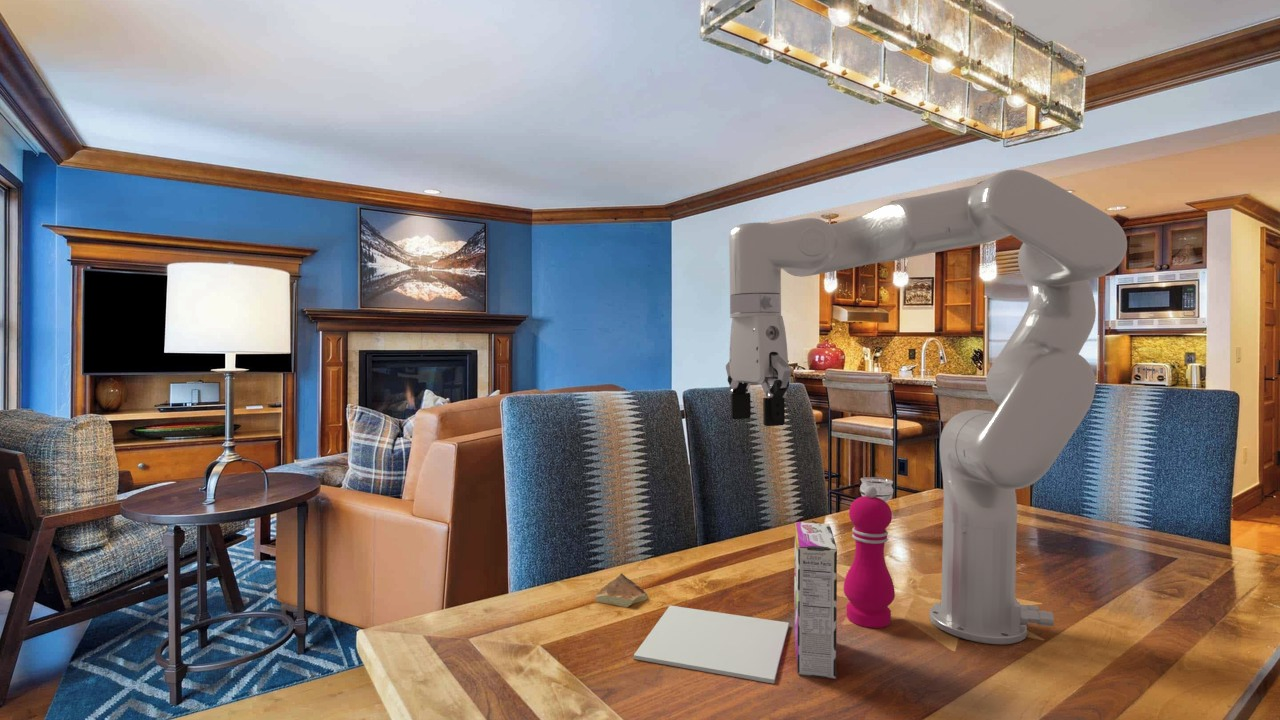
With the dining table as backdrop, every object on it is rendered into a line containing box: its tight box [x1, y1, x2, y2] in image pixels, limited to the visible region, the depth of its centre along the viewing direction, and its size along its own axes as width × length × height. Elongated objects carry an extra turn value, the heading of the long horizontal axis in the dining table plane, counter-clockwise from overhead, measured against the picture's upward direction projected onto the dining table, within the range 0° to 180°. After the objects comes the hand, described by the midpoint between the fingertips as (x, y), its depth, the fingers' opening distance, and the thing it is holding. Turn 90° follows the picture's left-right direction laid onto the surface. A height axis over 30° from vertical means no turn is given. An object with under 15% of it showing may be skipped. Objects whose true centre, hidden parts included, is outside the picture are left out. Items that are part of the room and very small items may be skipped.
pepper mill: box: [843, 486, 896, 629], centre depth 97 cm, size 7×7×20 cm
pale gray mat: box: [633, 605, 790, 684], centre depth 89 cm, size 18×17×1 cm
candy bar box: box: [793, 521, 838, 680], centre depth 85 cm, size 11×5×16 cm, turn 168°
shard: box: [594, 573, 649, 608], centre depth 106 cm, size 11×8×2 cm
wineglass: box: [859, 476, 894, 503], centre depth 140 cm, size 7×7×12 cm
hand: (756, 421), depth 97 cm, fingers open, 9 cm apart
